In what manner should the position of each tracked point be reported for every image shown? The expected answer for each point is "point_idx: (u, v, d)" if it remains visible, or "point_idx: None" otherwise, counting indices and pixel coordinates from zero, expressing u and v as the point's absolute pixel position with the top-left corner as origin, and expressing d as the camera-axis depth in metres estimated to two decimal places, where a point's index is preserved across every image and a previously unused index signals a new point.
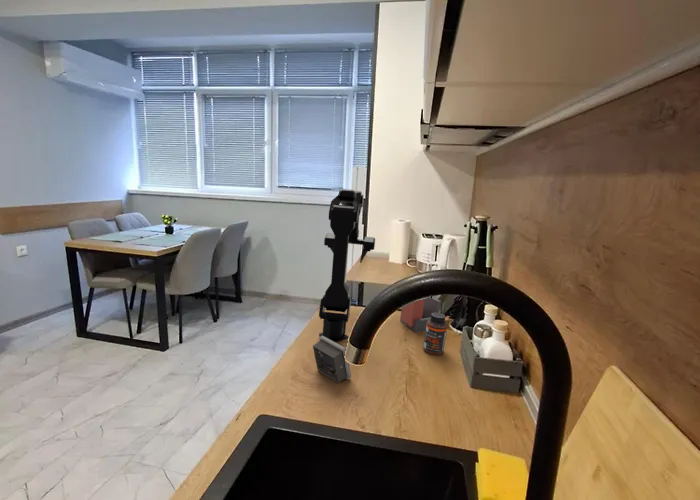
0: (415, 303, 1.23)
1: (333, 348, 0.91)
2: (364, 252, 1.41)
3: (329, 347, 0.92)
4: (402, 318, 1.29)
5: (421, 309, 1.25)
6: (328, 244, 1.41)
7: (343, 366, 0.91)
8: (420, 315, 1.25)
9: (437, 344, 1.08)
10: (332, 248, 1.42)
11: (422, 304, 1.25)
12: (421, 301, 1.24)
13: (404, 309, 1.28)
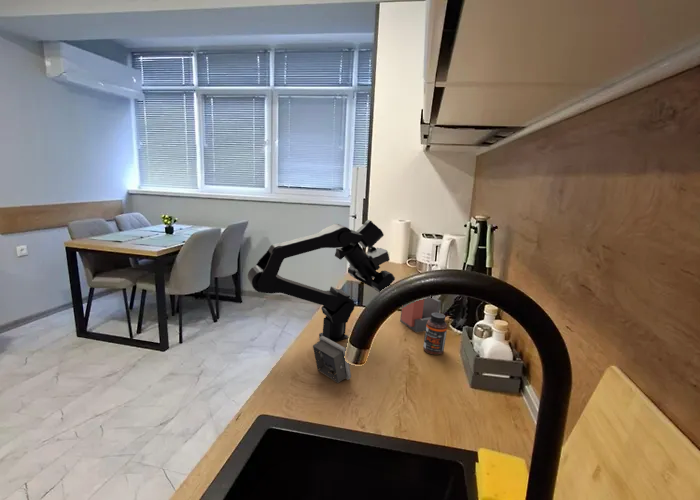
0: (415, 303, 1.23)
1: (333, 348, 0.91)
2: None
3: (329, 347, 0.92)
4: (402, 318, 1.29)
5: (421, 309, 1.25)
6: (351, 275, 1.23)
7: (343, 366, 0.91)
8: (420, 315, 1.25)
9: (437, 344, 1.08)
10: (357, 279, 1.23)
11: (422, 304, 1.25)
12: (421, 301, 1.24)
13: (404, 309, 1.28)
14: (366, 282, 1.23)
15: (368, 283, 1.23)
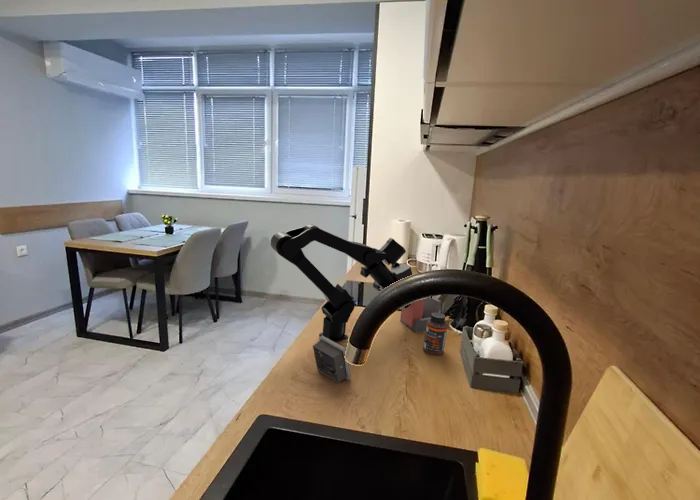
0: (415, 303, 1.23)
1: (333, 348, 0.91)
2: None
3: (329, 347, 0.92)
4: (402, 318, 1.29)
5: (421, 309, 1.25)
6: None
7: (343, 366, 0.91)
8: (420, 315, 1.25)
9: (437, 344, 1.08)
10: None
11: (422, 304, 1.25)
12: (421, 301, 1.24)
13: (404, 309, 1.28)
14: None
15: None
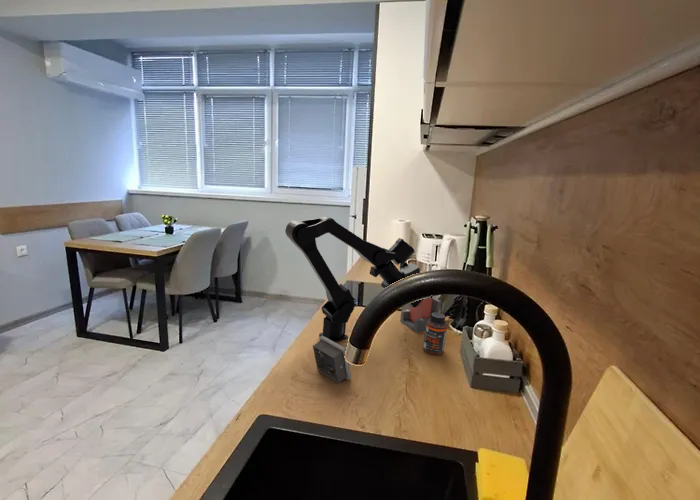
0: (423, 302, 1.25)
1: (333, 348, 0.91)
2: None
3: (329, 347, 0.92)
4: (410, 317, 1.30)
5: (429, 308, 1.26)
6: None
7: (343, 366, 0.91)
8: (428, 314, 1.27)
9: (437, 344, 1.08)
10: None
11: (430, 303, 1.26)
12: (429, 300, 1.25)
13: (412, 308, 1.29)
14: None
15: None
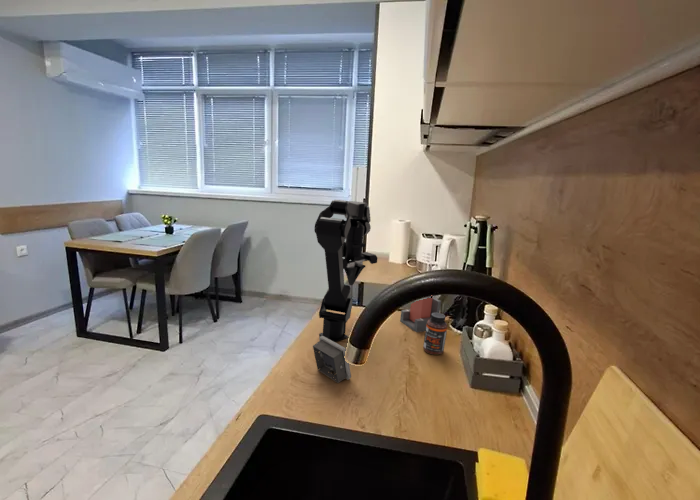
0: (423, 302, 1.25)
1: (333, 348, 0.91)
2: (361, 269, 1.27)
3: (329, 347, 0.92)
4: (410, 317, 1.30)
5: (429, 308, 1.26)
6: None
7: (343, 366, 0.91)
8: (428, 314, 1.27)
9: (437, 344, 1.08)
10: (354, 269, 1.24)
11: (430, 303, 1.26)
12: (429, 300, 1.25)
13: (412, 308, 1.29)
14: None
15: None
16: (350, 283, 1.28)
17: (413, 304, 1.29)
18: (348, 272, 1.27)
